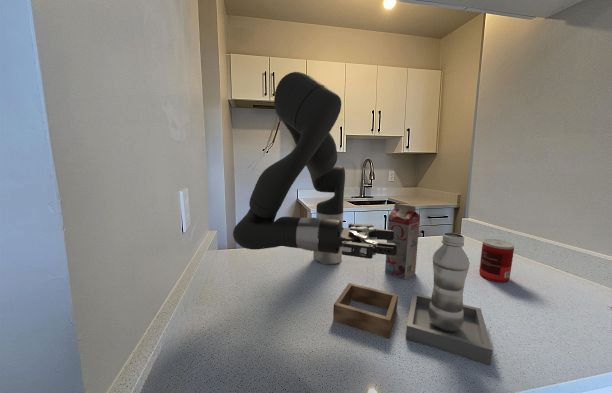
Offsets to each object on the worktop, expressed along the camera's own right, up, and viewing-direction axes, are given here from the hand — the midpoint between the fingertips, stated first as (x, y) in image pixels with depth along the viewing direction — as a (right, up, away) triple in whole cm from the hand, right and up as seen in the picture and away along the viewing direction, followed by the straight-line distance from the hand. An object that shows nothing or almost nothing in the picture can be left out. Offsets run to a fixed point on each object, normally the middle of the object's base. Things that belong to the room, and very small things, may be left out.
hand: (395, 242), depth 54 cm
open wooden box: (-5, -18, +5) cm, 19 cm away
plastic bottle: (+11, -18, +1) cm, 21 cm away
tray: (+11, -19, +1) cm, 22 cm away
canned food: (+39, -15, +25) cm, 49 cm away
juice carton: (+11, -15, +27) cm, 33 cm away
